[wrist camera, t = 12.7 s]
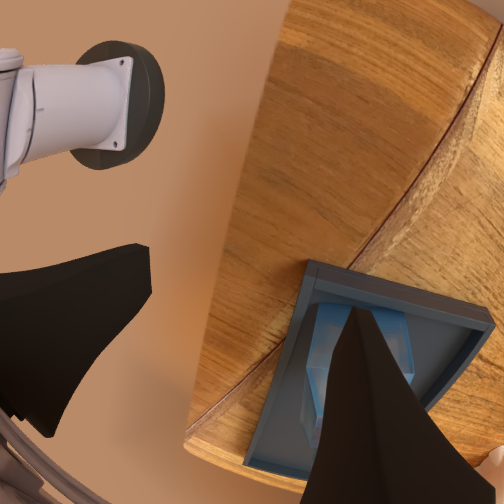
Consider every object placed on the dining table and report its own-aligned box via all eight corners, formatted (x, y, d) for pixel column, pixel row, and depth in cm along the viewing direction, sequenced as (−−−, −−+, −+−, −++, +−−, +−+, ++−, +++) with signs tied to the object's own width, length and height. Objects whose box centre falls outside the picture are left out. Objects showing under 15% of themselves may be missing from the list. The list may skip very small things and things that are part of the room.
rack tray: (246, 453, 36) (242, 464, 34) (308, 258, 19) (303, 274, 17) (339, 474, 33) (337, 486, 31) (487, 307, 16) (496, 325, 14)
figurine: (536, 431, 19) (546, 500, 6) (509, 460, 23) (512, 520, 10) (488, 448, 23) (492, 526, 10) (464, 473, 27) (463, 539, 14)
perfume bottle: (313, 361, 22) (278, 493, 12) (319, 302, 20) (280, 459, 9) (384, 367, 20) (379, 501, 10) (403, 308, 18) (420, 467, 8)
